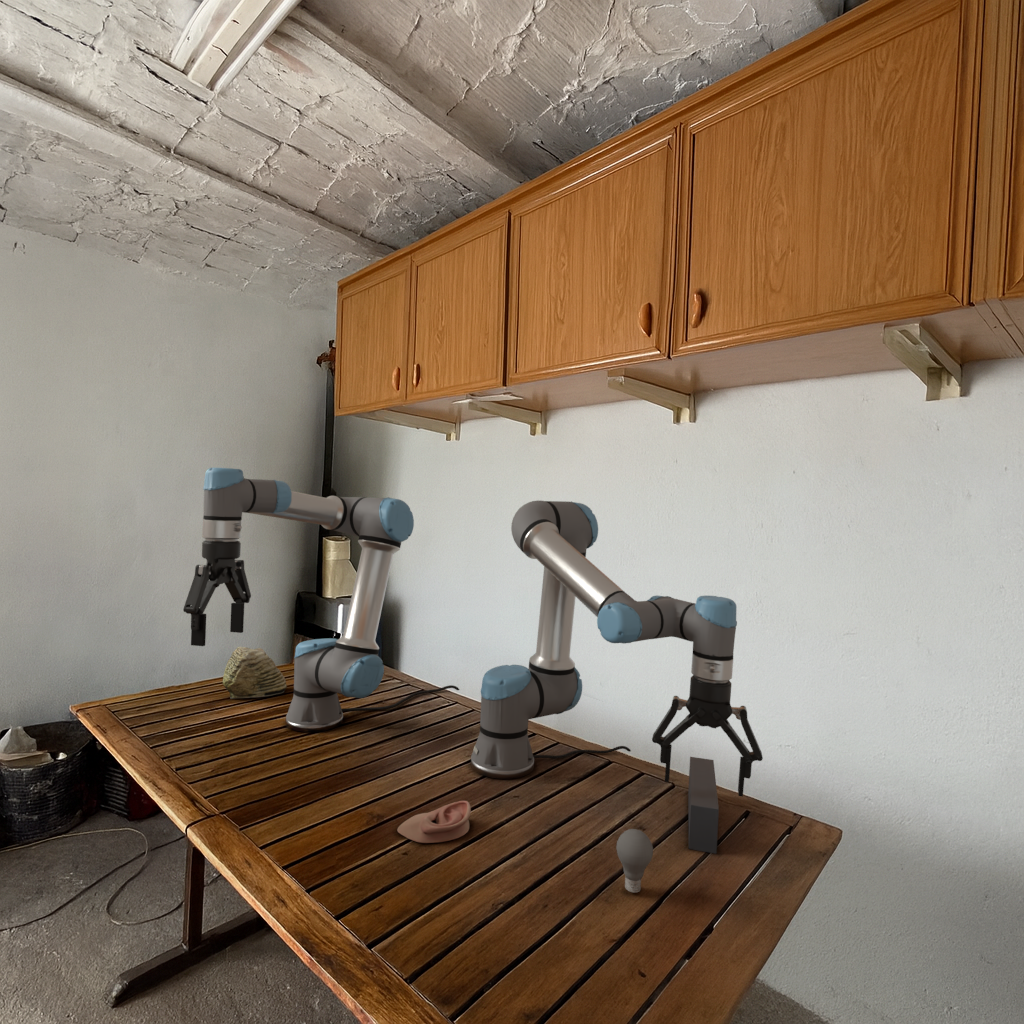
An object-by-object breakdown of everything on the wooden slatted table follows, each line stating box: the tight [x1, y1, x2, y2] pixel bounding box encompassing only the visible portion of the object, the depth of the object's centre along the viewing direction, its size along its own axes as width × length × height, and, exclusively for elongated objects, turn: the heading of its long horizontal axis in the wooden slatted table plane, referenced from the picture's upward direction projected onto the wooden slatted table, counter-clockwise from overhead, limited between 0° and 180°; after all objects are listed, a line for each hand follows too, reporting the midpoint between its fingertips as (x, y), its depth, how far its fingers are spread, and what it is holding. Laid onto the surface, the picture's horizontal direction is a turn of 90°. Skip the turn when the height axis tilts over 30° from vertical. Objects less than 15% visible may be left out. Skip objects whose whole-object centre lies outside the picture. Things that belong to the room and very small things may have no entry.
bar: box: [687, 756, 720, 855], centre depth 130 cm, size 24×5×8 cm, turn 165°
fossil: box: [222, 646, 288, 699], centre depth 198 cm, size 9×18×15 cm, turn 132°
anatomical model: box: [396, 800, 472, 844], centre depth 123 cm, size 13×4×12 cm
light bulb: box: [615, 828, 654, 894], centre depth 106 cm, size 6×6×10 cm
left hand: (218, 638), depth 136 cm, fingers open, 13 cm apart
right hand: (703, 786), depth 122 cm, fingers open, 13 cm apart
